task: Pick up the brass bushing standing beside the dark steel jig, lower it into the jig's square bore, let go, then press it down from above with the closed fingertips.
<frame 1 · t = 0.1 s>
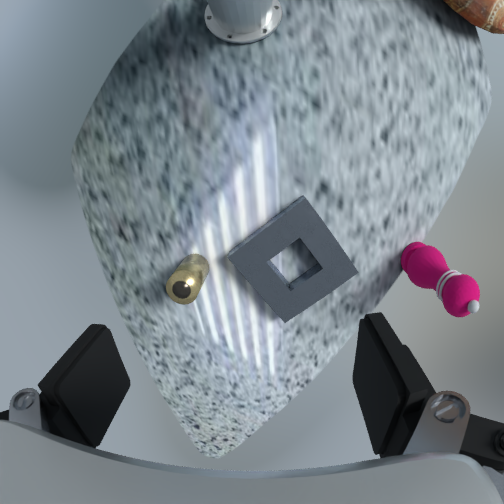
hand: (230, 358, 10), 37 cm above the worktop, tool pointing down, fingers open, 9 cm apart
bushing: (195, 267, 49), on the worktop
pepper mill: (414, 257, 47), on the worktop
jig: (293, 258, 48), on the worktop
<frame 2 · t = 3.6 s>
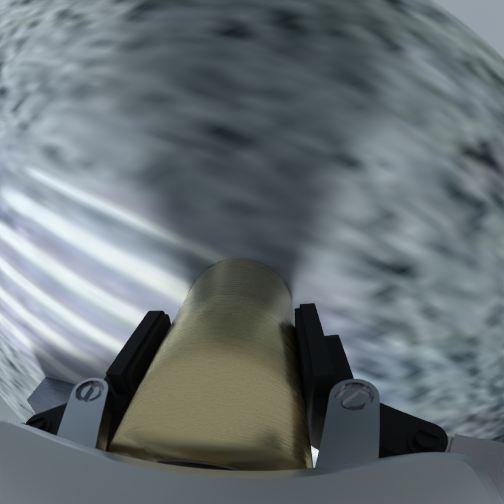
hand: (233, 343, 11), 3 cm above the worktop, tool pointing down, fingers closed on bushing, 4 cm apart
bushing: (240, 307, 13), on the worktop, touching gripper
jig: (152, 452, 18), on the worktop
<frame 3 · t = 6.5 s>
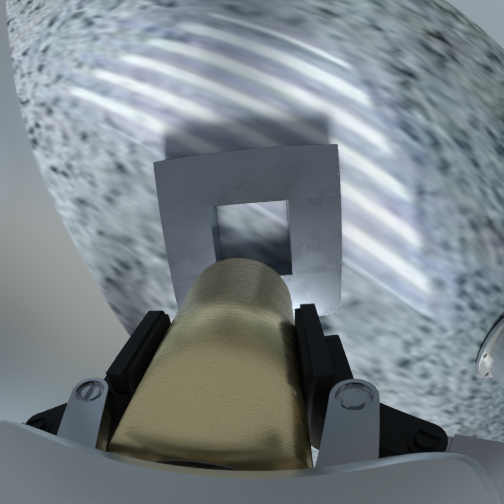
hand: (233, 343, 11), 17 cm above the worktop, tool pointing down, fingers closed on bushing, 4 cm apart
bushing: (240, 306, 13), point 14 cm above the worktop, touching gripper
jig: (253, 232, 27), on the worktop
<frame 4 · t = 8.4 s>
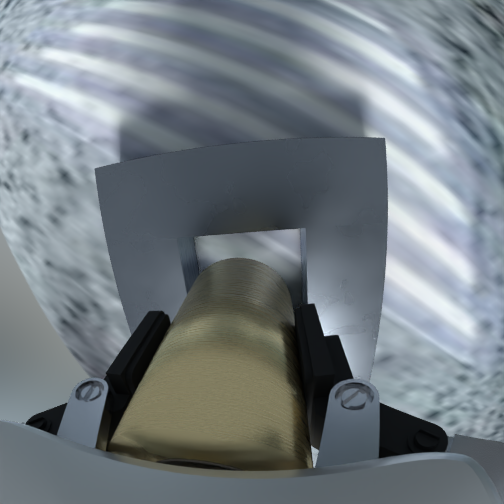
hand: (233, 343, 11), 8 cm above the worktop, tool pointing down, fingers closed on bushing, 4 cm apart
bushing: (240, 306, 13), point 5 cm above the worktop, touching gripper
jig: (249, 271, 18), on the worktop
when the fingers open (4 cm above the worktop, at t = 9.8 s): bushing stays where it is, resting in jig.
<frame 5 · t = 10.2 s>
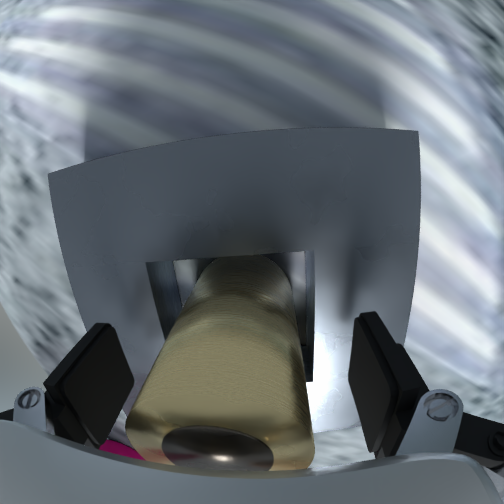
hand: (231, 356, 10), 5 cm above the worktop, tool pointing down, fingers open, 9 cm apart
bushing: (243, 297, 14), resting in jig
pepper mill: (124, 455, 21), on the worktop
jig: (241, 297, 14), on the worktop
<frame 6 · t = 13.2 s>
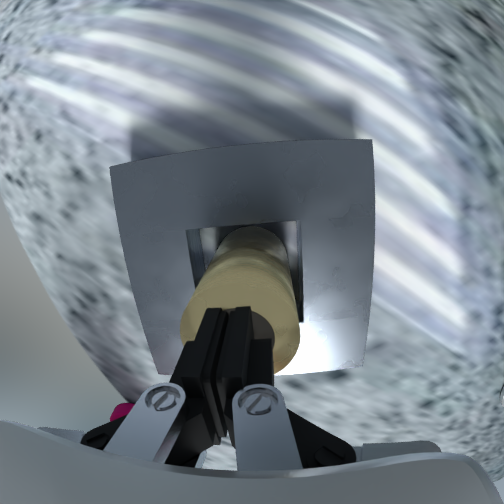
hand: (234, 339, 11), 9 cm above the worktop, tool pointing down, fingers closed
bushing: (251, 261, 20), resting in jig, touching gripper
jig: (250, 261, 20), on the worktop
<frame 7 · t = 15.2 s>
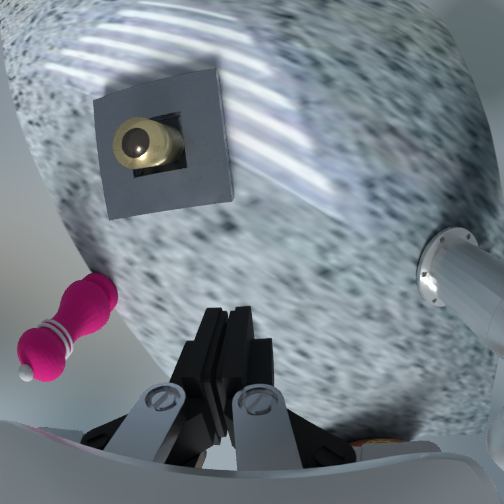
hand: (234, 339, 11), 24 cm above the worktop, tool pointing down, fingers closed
bushing: (164, 145, 31), resting in jig
pepper mill: (100, 291, 38), on the worktop
jig: (163, 145, 31), on the worktop
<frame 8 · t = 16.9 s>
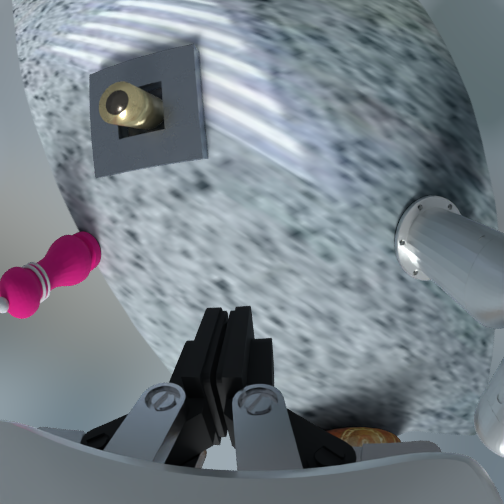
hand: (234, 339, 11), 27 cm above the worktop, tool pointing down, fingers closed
bushing: (149, 112, 33), resting in jig
pepper mill: (86, 250, 40), on the worktop
jug: (331, 449, 52), on the worktop
jig: (148, 113, 33), on the worktop
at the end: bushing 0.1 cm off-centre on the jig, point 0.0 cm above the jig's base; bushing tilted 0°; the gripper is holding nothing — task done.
